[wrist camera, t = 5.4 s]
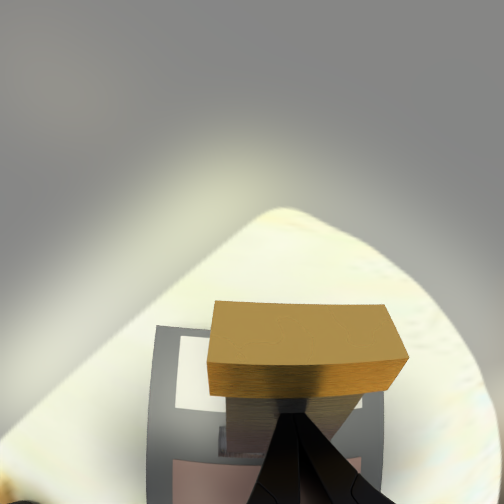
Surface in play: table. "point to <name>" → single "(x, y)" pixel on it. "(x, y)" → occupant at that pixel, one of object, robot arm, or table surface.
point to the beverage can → (21, 502)
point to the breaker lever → (296, 366)
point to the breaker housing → (213, 416)
